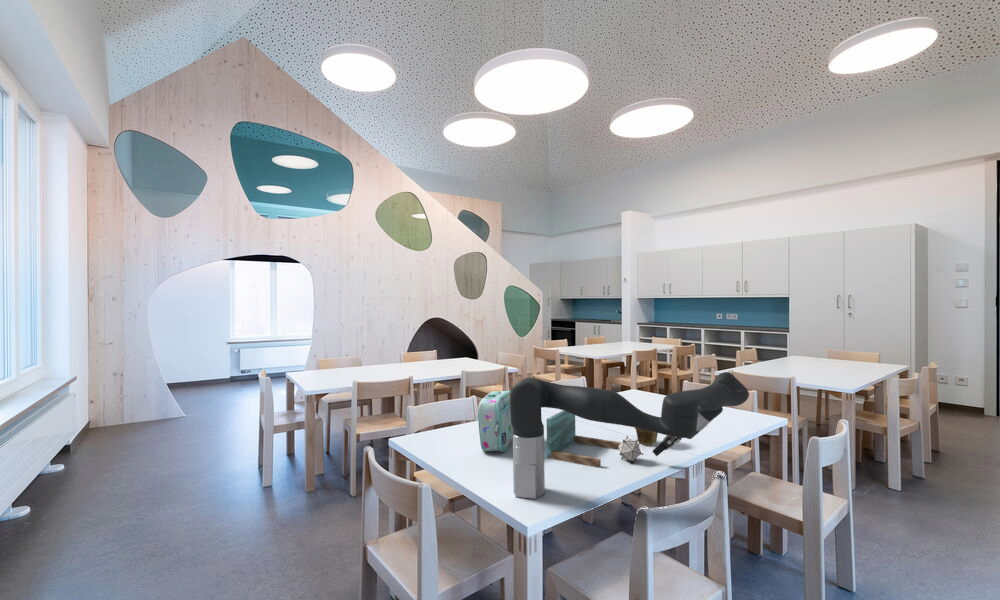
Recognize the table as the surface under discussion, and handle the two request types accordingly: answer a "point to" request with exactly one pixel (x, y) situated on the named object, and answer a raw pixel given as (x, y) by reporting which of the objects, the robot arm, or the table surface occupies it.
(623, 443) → the game die
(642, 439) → the ceramic cup
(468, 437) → the table surface
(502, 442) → the lunch box
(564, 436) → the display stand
